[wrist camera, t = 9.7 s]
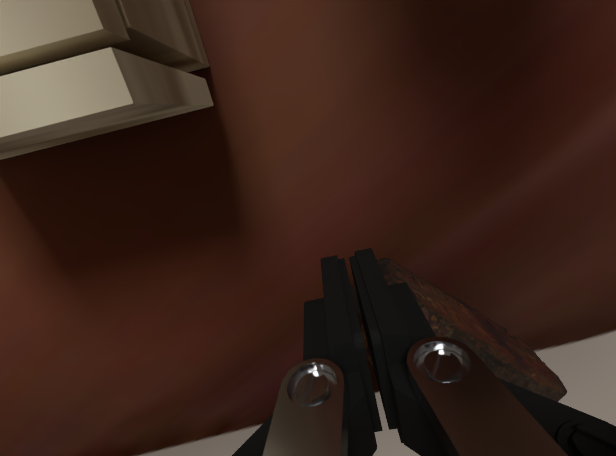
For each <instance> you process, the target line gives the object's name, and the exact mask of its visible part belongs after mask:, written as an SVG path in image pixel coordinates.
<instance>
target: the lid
mask: <svg viewBox="0 0 616 456" xmlns="http://www.w3.org/2000/svg"><path fill="white" fill-rule="evenodd" d="M128 40H130V39H129V36H128V34H127V31H126V29H125V26H124V23H123V21H122V18H121V16H120V13H119V10H118V8H117V5H116V2H115V0H0V74H3V73H7V72H11V71H14V70H18V69H22V68H26V67H30V66H33V65H37V64H41V63H45V62H48V61H52V60H56V59H60V58H63V57H67V56H71V55H75V54H79V53H82V52H86V51H90V50H94V49H97V48H101V47H105V46H109V45H112V44H116V43H120V42H124V41H128ZM211 106H214V104H213V101H212V98H211V95H210V92H209V89H208V86H207V83H206V79H204V78H201V77H198V76H196V75H193V74H190V73H187V72H184V71H181V70H178V69H175V68H172V67H169V66H166V65H163V64H160V63H157V62H154V61H151V60H148V59H145V58H142V57H139V56H136V55H133V54H130V53H127V52H124V51H121V50H118V49H115V48H112V47H109V48H105V49H102V50H98V51H94V52H90V53H86V54H83V55H79V56H75V57H71V58H68V59H64V60H60V61H56V62H53V63H49V64H45V65H41V66H37V67H34V68H30V69H26V70H22V71H19V72H15V73H11V74H7V75H3V76H0V160H2V159H6V158H10V157H14V156H18V155H22V154H26V153H30V152H33V151H37V150H41V149H45V148H49V147H53V146H57V145H61V144H65V143H69V142H73V141H77V140H81V139H85V138H89V137H93V136H96V135H100V134H104V133H108V132H112V131H116V130H120V129H124V128H128V127H132V126H136V125H140V124H144V123H148V122H152V121H156V120H160V119H163V118H167V117H171V116H175V115H179V114H183V113H187V112H191V111H195V110H199V109H203V108H207V107H211Z"/></svg>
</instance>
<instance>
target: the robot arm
mask: <svg viewBox="0 0 616 456" xmlns="http://www.w3.org/2000/svg"><path fill="white" fill-rule="evenodd" d="M349 259H350V264H351V269H352V273H353V278H354V283H355V288H356V293H357V298H358V302H359V307H360V312H361V317H362V322H363V326H364V331H365V335H366V339H367V343H368V347H369V351H370V355H371V359H372V363H373V367H374V371H375V375H376V379H377V383H378V387H379V391H380V395H381V399H382V403H383V407H384V411H385V414H386V419H387V422H388V427H389V429H398V433H399V436H400V440H401V443H404V445H406V446H407V447H409V448H410V449H412V450H413V451H415V452H416V453H418V454H419V455H421V456H616V426H614V425H612V424H609V423H608V422H606V421H603V420H601V419H598V418H596V417H593V416H591V415H588V414H586V413H583V412H581V411H578V410H576V409H573V408H571V407H569V406H566V405H564V404H561V403H559V402H556V401H554V400H551V399H549V398H546V397H544V396H541V395H539V394H537V393H534V392H532V391H529V390H527V389H524V388H522V387H519V386H517V385H514V384H512V383H509V382H507V381H504V380H502V379H500V378H497V377H496V376H495V374H494V373H493V372H492V371H491V370H490V369H489V368H488V367H487V366H486V364H485V363H484V362H483V361H482V360H481V359H480V358H479V357H478V356H477V355H476V353H475V352H474V351H473V350H472V349H470V348H469V347H468V346H467V345H466V344H464V343H462V342H460V341H458V340H455V339H452V338H448V337H436V335H435V333H434V331H433V330H432V328H431V326H430V324H429V322H428V320H427V319H426V317H425V315H424V313H423V311H422V310H421V308H420V306H419V304H418V302H417V300H416V299H415V297H414V295H413V293H412V291H411V290H410V288H409V286H408V284H407V283H406V282H402V283H397V284H392V285H387V283H386V281H385V278H384V276H383V274H382V271H381V269H380V267H379V265H378V262H377V260H376V258H375V255H374V253H373V251H372V249H371V248H369V249H365V250H360V251H355V256H352V257H349ZM321 268H322V280H323V291H324V298H321V299H316V300H311V301H306V302H305V303H304V355H303V362H300V363H298V364H297V365H295V366H294V367H293V368H291V369H290V370H289V372H288V373H287V374H286V375H285V376H284V379H283V381H282V383H281V386H280V390H279V394H278V398H277V402H276V406H275V409H274V413H273V414H272V415H271V416H270V417H269V418H268V419H267V420H266V421H265V422H264V423H263V424H262V425H261V426H260V428H259V429H258V430H257V431H256V432H255V433H254V434H253V435H252V436H251V437H250V438H249V439H248V440H247V441H246V442H245V443H244V444H243V445H242V446H241V447H240V448H239V449H238V450H237V451H236V452H235V453H234V454H233V455H232V456H372V455H373V454H374V452H375V451H376V449H377V444H376V439H375V434H374V432H378V431H382V426H381V421H380V417H379V412H378V407H377V402H376V398H375V393H374V388H373V383H372V379H371V374H370V369H369V364H368V360H367V355H366V350H365V345H364V341H363V336H362V332H361V328H360V324H359V319H358V315H357V311H356V307H355V302H354V298H353V294H352V290H351V285H350V281H349V277H348V273H347V269H346V264H345V260H344V258H343V259H338V258H337V255H336V256H331V257H326V258H321Z"/></svg>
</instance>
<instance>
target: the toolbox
mask: <svg viewBox="0 0 616 456" xmlns="http://www.w3.org/2000/svg"><path fill="white" fill-rule="evenodd" d="M115 2H116V5H117V8H118V10H119V13H120V16H121V18H122V21H123V23H124V26H125V29H126V31H127V34H128V36H129V39H130V40H128V41H124V42H120V43H116V44H112V45H109V46H105V47H101V48H97V49H94V50H90V51H86V52H82V53H79V54H75V55H71V56H67V57H63V58H60V59H56V60H52V61H48V62H45V63H41V64H37V65H33V66H30V67H26V68H22V69H18V70H14V71H11V72H7V73H3V74H0V76H3V75H7V74H11V73H15V72H19V71H22V70H26V69H30V68H34V67H37V66H41V65H45V64H49V63H53V62H56V61H60V60H64V59H68V58H71V57H75V56H79V55H83V54H86V53H90V52H94V51H98V50H102V49H105V48H109V47H112V48H115V49H118V50H121V51H124V52H127V53H130V54H133V55H136V56H139V57H142V58H145V59H148V60H151V61H154V62H157V63H160V64H163V65H166V66H169V67H172V68H175V69H178V70H181V71H184V72H191V71H195V70H199V69H203V68H207V67H210V66H209V63H208V60H207V57H206V54H205V50H204V47H203V44H202V41H201V37H200V34H199V31H198V28H197V25H196V21H195V18H194V15H193V12H192V9H191V5H190V2H189V0H115Z"/></svg>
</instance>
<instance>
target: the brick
mask: <svg viewBox="0 0 616 456" xmlns="http://www.w3.org/2000/svg"><path fill="white" fill-rule="evenodd" d="M377 262H378V265H379V267H380V269H381V271H382V274H383V276H384V278H385V281H386V283H387V285H392V284H397V283H402V282H406V283H407V284H408V286H409V288H410V290H411V291H412V293H413V295H414V297H415V299H416V300H417V302H418V304H419V306H420V308H421V310H422V311H423V313H424V315H425V317H426V319H427V320H428V322H429V324H430V326H431V328H432V330H433V331H434V333H435V335H436V337H448V338H452V339H455V340H458V341H460V342H462V343H464V344H466V345H467V346H468V347H469V348H470V349H472V350H473V351H474V352H475V353H476V355H477V356H478V357H479V358H480V359H481V360H482V361H483V362H484V363H485V364H486V366H487V367H488V368H489V369H490V370H491V371H492V372H493V373H494V374H495V376H496V377H497V378H500V379H502V380H504V381H507V382H509V383H512V384H514V385H517V386H519V387H522V388H524V389H527V390H529V391H532V392H534V393H537V394H539V395H541V396H544V397H546V398H549V399H551V400H554V401H556V402H558V401H559V400H560V399H561V398H562V397H563V396H565V394H566V393H567V390H566V388H565V387H564V385H563V383H562V382H561V380H560V379H559V377H558V376H557V375H556V374H555V373H554V372H553V371H551V370H550V369H549V368H548V367H547V366H546V365H545V363H544V362H542V361H541V360H540V358H539V357H538V356H537V355H536V353H535V352H534V351H533V350H532V349H531V348H530V347H529V346H527V345H526V344H525V343H523V342H522V341H521V340H520V339H518V338H516V337H514V336H513V335H511V334H510V333H508V332H507V330H506V329H505V328H503V327H501V326H499V325H497V324H496V323H494V322H493V321H491V320H490V319H488V318H487V317H485V316H484V315H483V314H481V313H479V312H478V311H476V310H475V309H473V308H471V307H470V306H468V305H466V304H465V303H463V302H462V301H460V300H458V299H456V298H455V297H453V296H451V295H449V294H448V293H446V292H444V291H442V290H441V289H439V288H437V287H436V286H434V285H432V284H430V283H429V282H427V281H425V280H424V279H422V278H420V277H419V276H417V275H415V274H414V273H412V272H410V271H409V270H407V269H405V268H403V267H402V266H400V265H398V264H397V263H395V262H393V261H392V260H390V259H380V260H379V261H377ZM351 290H352V294H353V298H354V302H355V307H356V311H357V315H358V319H359V324H360V328H361V332H362V336H363V341H364V345H365V350H366V355H367V358H368V360H369V362H370V364H371V365H372V366H373V363H372V359H371V355H370V351H369V347H368V343H367V339H366V335H365V331H364V326H363V322H362V317H361V312H360V307H359V302H358V298H357V293H356V288H355V285H354V287H353V288H351Z"/></svg>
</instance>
